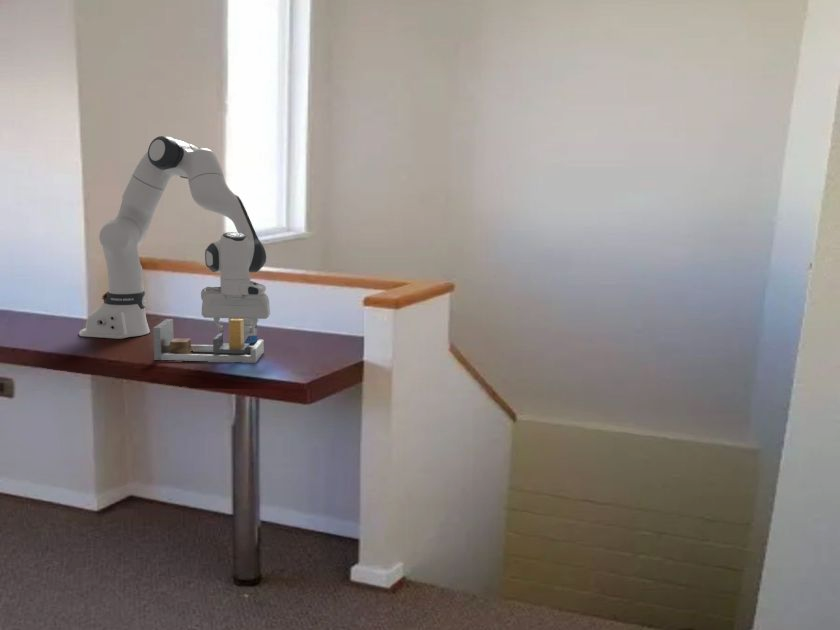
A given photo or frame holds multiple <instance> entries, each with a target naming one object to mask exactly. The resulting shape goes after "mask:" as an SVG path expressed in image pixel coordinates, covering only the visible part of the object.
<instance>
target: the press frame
mask: <svg viewBox="0 0 840 630" xmlns="http://www.w3.org/2000/svg"><path fill="white" fill-rule="evenodd" d="M152 331H153V332H152V334H153V352H154V353H153V355H154V357H153V358H154V360H185V361H187V360H188V361H208V362H207V363H235V362H242V363H244V364H257V362H258V360H260V358H261V357H262V355H263V354H264V352H265V345H264V342H265V341H264V339H257V342H256V343H254V344H253V345H249V351H250V353H249V354H248V355H222V354H213V344H191V351H193V352H192V353H191V354H169V353H170V341H172V340H173V339H174V338H175V336H174V335H175V334H174V319H173V318H165V319H164V320H162V321H161V322H159V323H158V324H157V325H155V326H153V328H152ZM207 353H208V354H207ZM210 353H211V354H210ZM242 363H241V364H242Z"/></svg>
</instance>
